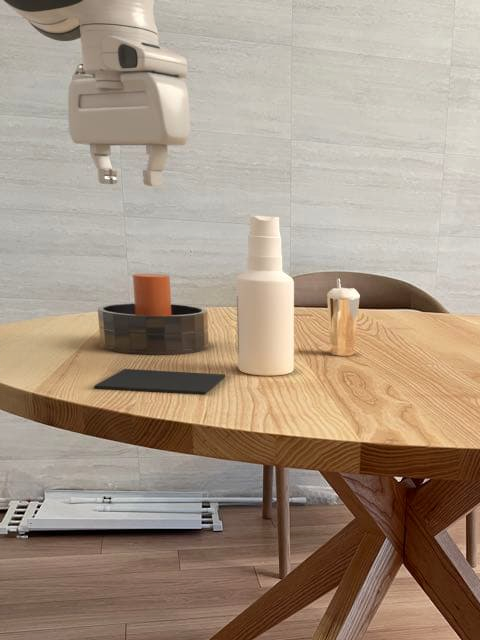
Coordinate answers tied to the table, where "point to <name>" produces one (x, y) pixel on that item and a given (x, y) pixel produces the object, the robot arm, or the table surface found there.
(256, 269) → the spray bottle
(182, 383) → the mat
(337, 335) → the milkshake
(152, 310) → the orange cylinder
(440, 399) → the table surface
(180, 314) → the pot
